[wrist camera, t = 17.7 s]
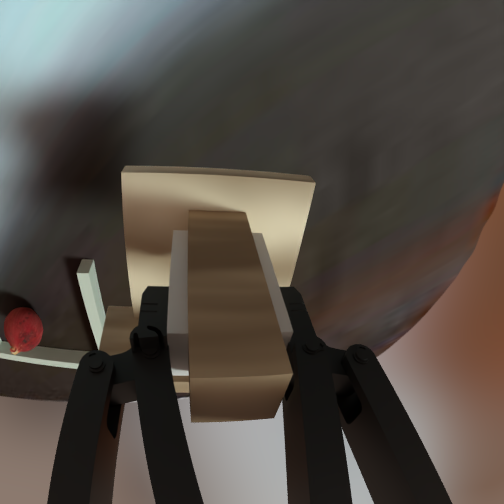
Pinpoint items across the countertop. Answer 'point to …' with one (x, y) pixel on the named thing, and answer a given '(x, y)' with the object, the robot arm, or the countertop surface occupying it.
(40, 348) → the sage frame
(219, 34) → the countertop surface
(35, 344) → the red round fruit
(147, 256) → the wooden scraper
